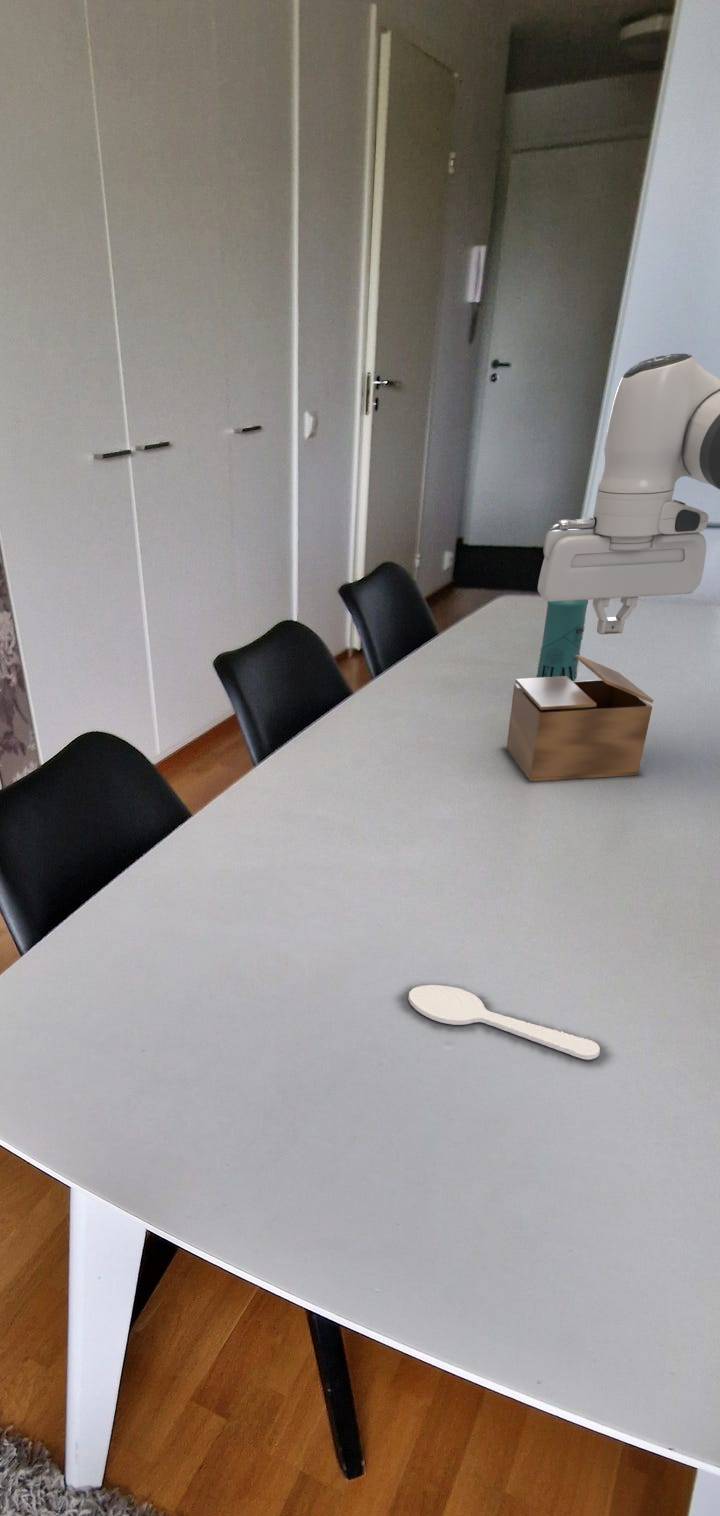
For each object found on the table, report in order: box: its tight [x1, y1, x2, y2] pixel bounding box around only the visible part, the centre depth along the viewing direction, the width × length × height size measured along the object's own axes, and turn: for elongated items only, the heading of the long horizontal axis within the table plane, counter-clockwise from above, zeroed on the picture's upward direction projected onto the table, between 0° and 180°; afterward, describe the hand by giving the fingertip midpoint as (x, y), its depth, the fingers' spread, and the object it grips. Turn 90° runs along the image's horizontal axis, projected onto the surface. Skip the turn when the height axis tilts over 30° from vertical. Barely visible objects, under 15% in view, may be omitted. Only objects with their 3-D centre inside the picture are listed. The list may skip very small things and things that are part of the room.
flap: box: [575, 654, 654, 704], centre depth 127 cm, size 7×13×1 cm, turn 1°
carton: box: [505, 676, 653, 782], centre depth 131 cm, size 15×13×10 cm
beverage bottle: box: [535, 600, 589, 681], centre depth 150 cm, size 6×7×20 cm
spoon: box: [408, 983, 601, 1061], centre depth 84 cm, size 5×18×1 cm, turn 54°
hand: (609, 633), depth 123 cm, fingers closed
